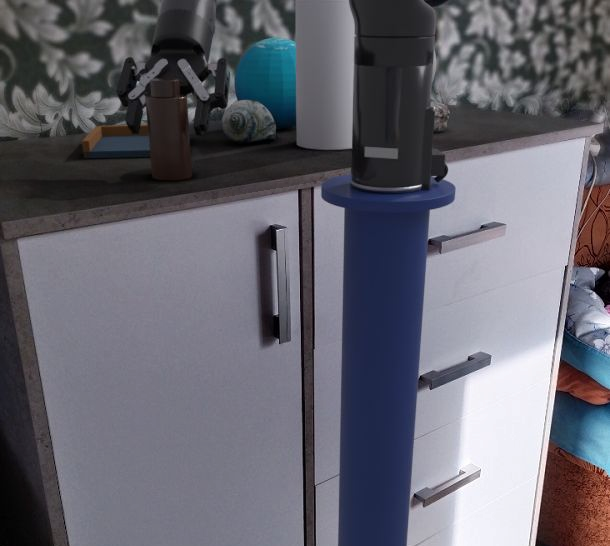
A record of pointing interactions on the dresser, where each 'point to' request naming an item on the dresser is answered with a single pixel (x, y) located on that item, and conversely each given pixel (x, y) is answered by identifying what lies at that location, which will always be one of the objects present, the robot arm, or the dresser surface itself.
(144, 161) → the dresser surface
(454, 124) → the dresser surface
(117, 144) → the corner mat
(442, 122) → the stone
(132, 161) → the dresser surface
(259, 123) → the seashell
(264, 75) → the decorative orb
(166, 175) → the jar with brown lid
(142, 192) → the dresser surface
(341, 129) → the tall pillar cylinder
